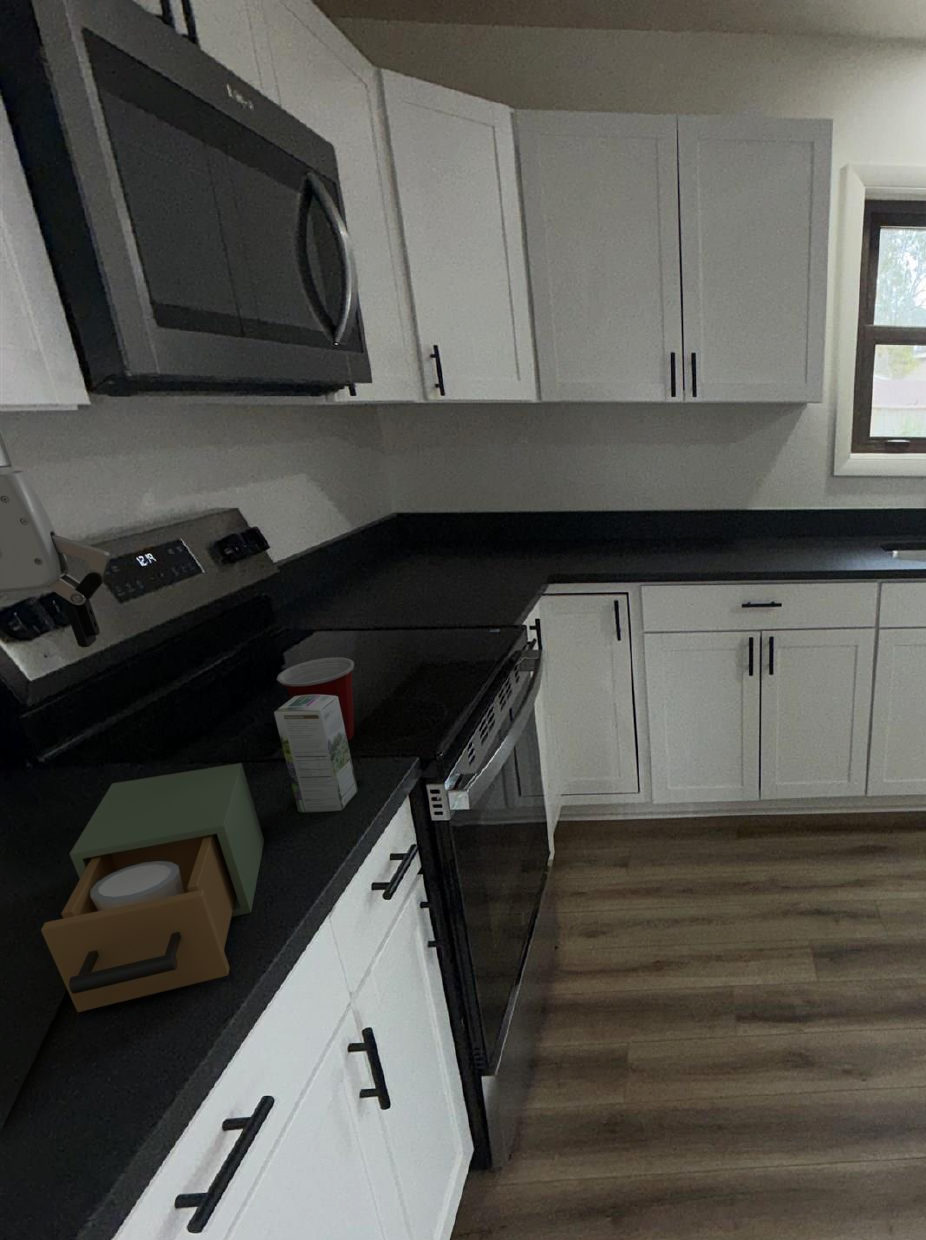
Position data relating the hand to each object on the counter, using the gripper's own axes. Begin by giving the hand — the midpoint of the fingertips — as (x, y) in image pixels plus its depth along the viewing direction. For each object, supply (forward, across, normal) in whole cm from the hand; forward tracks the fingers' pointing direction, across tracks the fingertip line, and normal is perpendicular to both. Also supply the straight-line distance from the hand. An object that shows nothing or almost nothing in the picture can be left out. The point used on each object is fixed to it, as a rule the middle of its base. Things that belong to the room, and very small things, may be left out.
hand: (25, 650), depth 75 cm
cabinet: (+28, +6, 0) cm, 29 cm away
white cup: (+26, +6, -13) cm, 30 cm away
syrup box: (+28, +20, +16) cm, 38 cm away
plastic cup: (+28, +20, +40) cm, 53 cm away
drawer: (+27, +7, -15) cm, 32 cm away
